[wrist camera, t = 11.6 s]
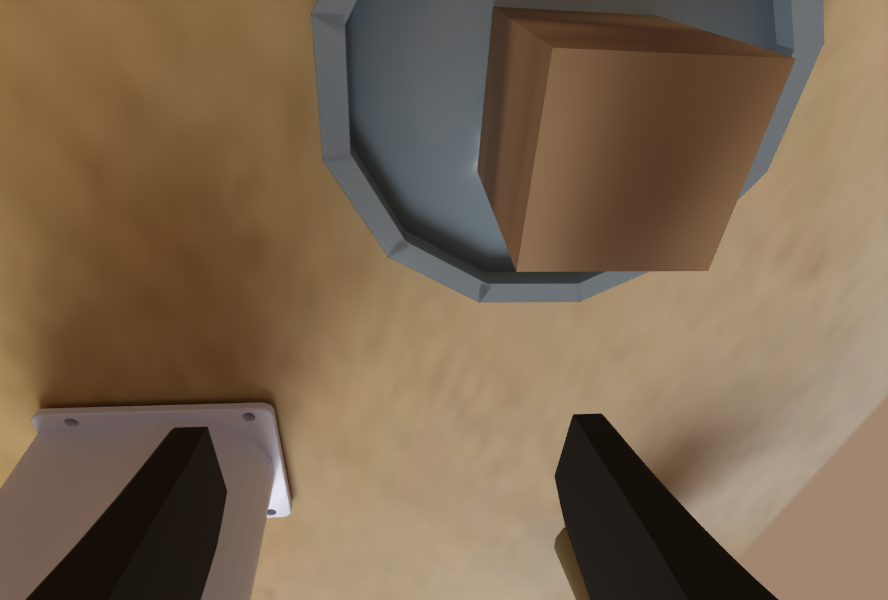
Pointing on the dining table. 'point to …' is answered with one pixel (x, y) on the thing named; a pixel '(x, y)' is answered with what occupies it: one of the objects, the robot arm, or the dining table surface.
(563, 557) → the cork
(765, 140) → the plate
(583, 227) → the block
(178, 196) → the dining table surface
